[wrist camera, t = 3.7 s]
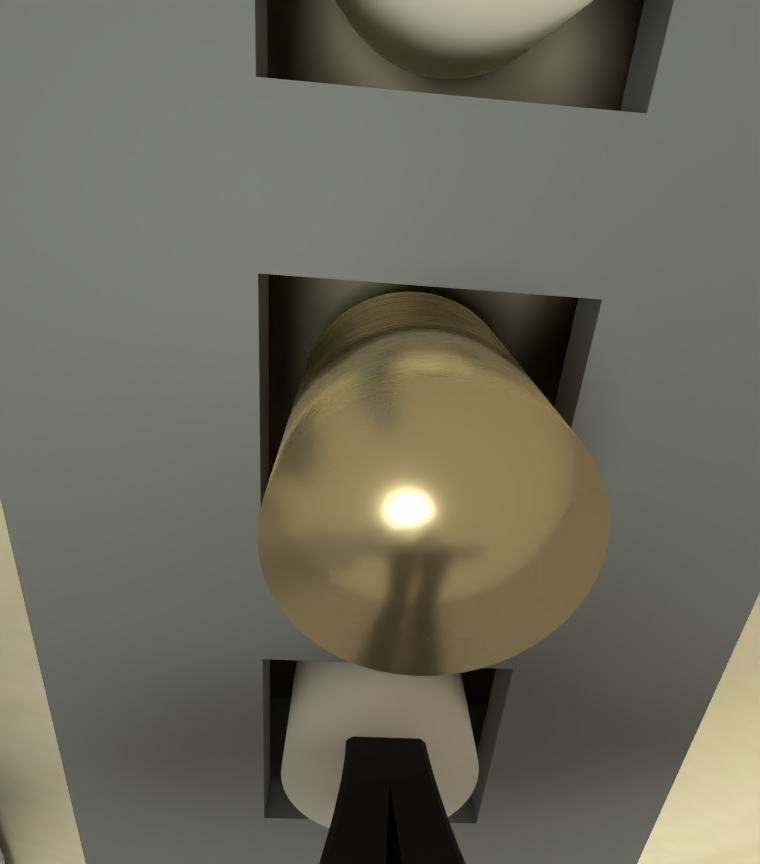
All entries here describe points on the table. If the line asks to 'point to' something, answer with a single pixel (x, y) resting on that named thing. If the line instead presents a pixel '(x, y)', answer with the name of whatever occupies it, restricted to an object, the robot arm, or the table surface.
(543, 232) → the grey slotted block
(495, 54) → the near knob
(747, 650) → the table surface
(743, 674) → the table surface
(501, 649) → the brass knob
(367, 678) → the far knob
